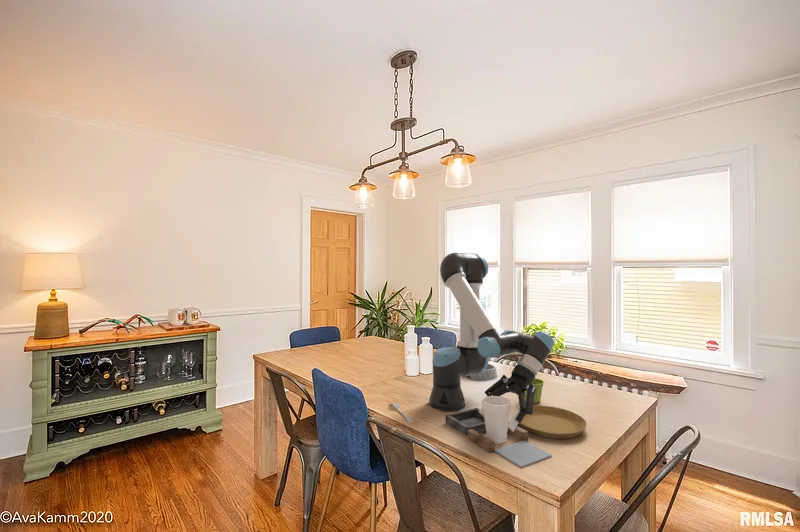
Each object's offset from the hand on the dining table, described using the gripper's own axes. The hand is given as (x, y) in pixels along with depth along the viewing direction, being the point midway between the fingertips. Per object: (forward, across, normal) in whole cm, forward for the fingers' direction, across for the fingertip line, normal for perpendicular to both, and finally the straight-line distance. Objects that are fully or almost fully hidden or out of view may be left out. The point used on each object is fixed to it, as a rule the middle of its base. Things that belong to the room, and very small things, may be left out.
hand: (495, 421), depth 123 cm
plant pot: (-24, +19, -33) cm, 45 cm away
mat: (+4, -11, -5) cm, 13 cm away
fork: (+16, +37, +6) cm, 41 cm away
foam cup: (+4, +1, -5) cm, 7 cm away
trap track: (+4, +7, -5) cm, 10 cm away
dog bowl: (-28, +60, -38) cm, 76 cm away
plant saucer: (-13, -2, -23) cm, 26 cm away
